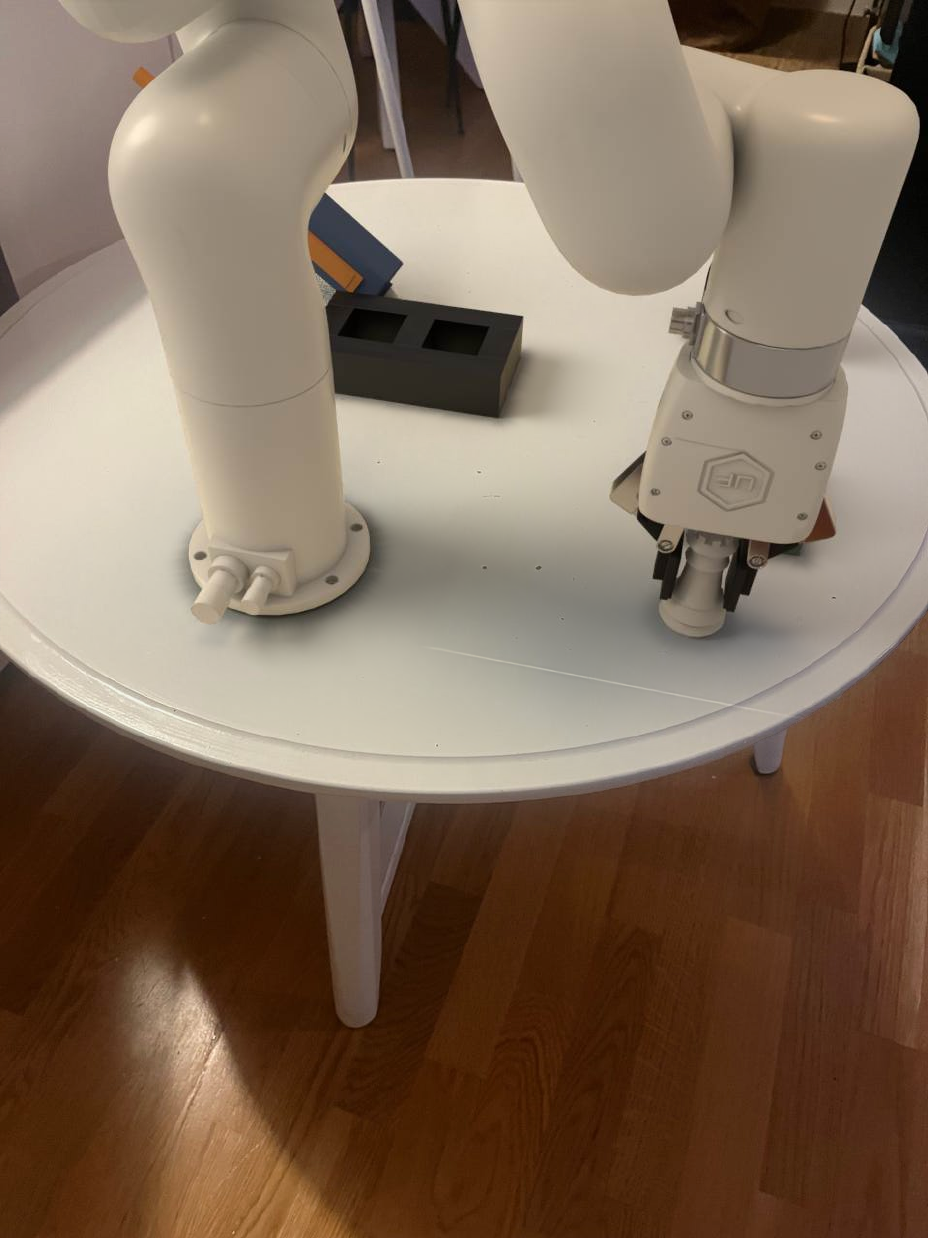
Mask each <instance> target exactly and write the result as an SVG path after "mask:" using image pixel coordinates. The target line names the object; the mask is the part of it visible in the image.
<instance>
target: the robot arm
mask: <svg viewBox="0 0 928 1238" xmlns="http://www.w3.org/2000/svg"><path fill="white" fill-rule="evenodd" d="M456 1H457V4H458V8H459V12H460V15H461V19H462V22H463V26H464V30H465V34H466V36H467V40H468V43H469V47H470V51H471V54H472V57H473V61H474V63H475V67H476V69H477V73H478V76H479V79H480V81H481V84H482V86H483V90H484V92H485V95H486V98H487V101H488V103H489V105H490V109H491V111H492V113H493V116H494V119H495V121H496V124H497V126H498V128H499V130H500V133H501V136H502V138H503V140H504V142H505V145H506V147H507V149H508V151H509V153H510V156H511V158H512V159H513V162H514V164H515V166H516V169H517V170H518V173H519V175H520V177H521V180H522V182H523V184H524V186H525V188H526V190H527V192H528V194H529V196H530V199H531V201H532V202H533V205H534V208H535V209H536V212H537V214H538V216H539V218H540V220H541V222H542V224H543V226H544V229H545V230H546V232H547V234H548V235H549V238H550V239H551V241H552V243H553V244H554V245H555V247H556V249H557V250H558V252H559V253H560V254H561V255H562V256H563V258H564V259H565V261H567V263H568V264H569V265H570V266H571V268H572V269H573V270H575V271H576V272H577V273H578V274H580V276H582V278H584V279H585V280H586V281H588V282H590V283H591V284H593V285H595V286H597V287H598V288H600V289H602V290H605V291H608V292H610V293H612V294H613V293H614V294H616V295H623V296H630V297H641V296H652V295H656V294H660V293H664V292H667V291H669V290H671V289H673V288H676V287H678V286H680V285H682V284H683V283H685V282H686V281H687V280H689V279H690V278H692V277H693V276H694V275H695V274H697V273H698V272H699V271H700V269H702V267H704V265H705V264H707V262H708V261H709V259H711V257H712V260H711V262H712V264H711V263H710V265H711V268H710V273H709V277H708V282H707V286H706V290H705V291H704V290H703V292H704V296H703V295H702V296H703V300H702V299H701V301H702V303H701V301H696V303H695V306H694V307H692V306H687V308H681V307H672V311H671V316H670V321H669V326H668V332H667V333H668V334H669V335H677V336H681V339H685V340H687V341H685V343H684V344H683V345H682V347H681V348H680V350H679V352H678V354H677V356H676V358H675V360H674V362H673V365H672V367H671V369H670V371H669V374H668V378H667V380H666V382H665V385H664V388H663V391H662V393H661V396H660V399H659V403H658V406H657V409H656V412H655V416H654V419H653V423H652V426H651V430H650V434H649V437H648V438H649V439H648V441H647V446H646V449H645V451H643V453H641V454H640V455H639V456H638V457H637V458H636V459H635V460H633V462H632V463H630V465H629V466H627V468H625V469H624V470H623V471H622V472H621V474H619V475H618V476H617V477H616V478H615V479H613V481H612V482H611V487H610V492H609V500H610V501H611V502H612V503H613V504H615V505H616V506H618V507H619V508H621V509H622V510H623V511H625V512H626V513H628V514H629V515H633V516H634V517H636V520H637V523H639V524H640V525H641V527H642V528H644V530H645V531H646V532H647V533H648V534H649V535H650V536H651V537H652V538H653V540H654V541H655V542H656V544H655V547H656V549H657V552H656V556H655V561H654V565H653V570H652V577H651V578H652V580H656V581H661V586H660V592H659V600H668V599H671V597H672V593H673V589H674V585H675V581H676V578H678V573H679V570H680V565H681V562H682V557H683V549H684V548H683V547H684V540H685V534H686V533H685V532H686V531H685V529H687V530H688V529H692V530H698V531H704V532H710V533H716V534H721V535H727V536H733V537H739V538H741V539H740V540H739V539H738V543H739V546H738V548H737V550H736V552H734V553H733V554H732V555H731V559H730V563H729V565H728V567H727V572H726V576H725V579H724V588H723V591H724V602H723V609H726V611H727V613H733V614H734V613H735V612H736V607H737V606H738V602H739V599H740V596H746V597H750V594H751V592H752V589H753V585H754V582H755V580H756V577H757V574H758V571H759V570H761V569H763V568H765V567H766V566H767V565H768V562H769V560H770V559H772V558H773V559H774V558H776V557H777V556H779V555H782V554H783V553H785V552H787V551H789V550H791V549H794V548H795V547H797V546H798V545H799V544H800V543H803V545H807V544H811V543H816V542H819V541H820V542H821V541H824V540H828V539H831V538H834V537H835V536H836V534H837V523H836V514H835V512H834V510H833V507H832V504H831V501H830V498H829V496H828V495H829V494H828V492H827V488H828V485H829V481H830V478H831V475H832V471H833V468H834V464H835V460H836V456H837V452H838V449H839V445H840V440H841V436H842V431H843V427H844V421H845V417H846V411H847V404H848V396H849V395H848V394H849V383H848V380H847V376H846V372H845V369H844V368H843V366H842V365H841V362H842V360H843V357H844V354H845V351H846V348H847V346H848V343H849V339H850V337H851V333H852V331H853V328H854V326H855V323H856V320H857V317H858V314H859V311H860V309H861V306H862V304H863V300H864V297H865V294H866V291H867V288H868V286H869V283H870V279H871V277H872V274H873V271H874V268H875V264H876V262H877V259H878V256H879V254H880V250H881V248H882V245H883V242H884V240H885V238H886V237H885V236H886V233H887V231H888V228H889V226H890V223H891V220H892V217H893V214H894V211H895V208H896V206H897V203H898V199H899V197H900V194H901V191H902V188H903V186H904V183H905V180H906V178H907V174H908V173H909V169H910V166H911V163H912V161H913V157H914V154H915V150H916V147H917V143H918V141H919V135H920V126H921V125H920V116H919V113H918V110H917V106H916V105H915V103H914V102H913V100H911V98H910V97H909V96H908V94H906V93H905V92H904V91H903V90H901V89H900V88H898V87H897V86H894V85H893V84H890V83H888V82H887V81H884V80H882V79H879V78H876V77H873V76H870V75H866V74H862V73H858V72H852V71H847V70H846V71H845V70H838V69H819V68H818V69H804V70H795V71H791V72H789V71H783V70H779V69H774V68H769V67H765V66H762V65H757V64H755V63H749V62H747V61H742V60H738V59H735V58H732V57H728V56H725V55H721V54H718V53H715V52H711V51H708V50H705V49H702V48H701V49H700V48H696V47H693V46H688V45H684V44H681V42H680V39H679V36H678V33H677V29H676V25H675V23H674V19H673V15H672V12H671V8H670V5H669V1H668V0H456ZM57 2H58V3H59V4H60V5H61V6H62V8H63V9H64V10H65V11H66V12H67V13H68V14H69V15H70V16H71V17H72V18H73V19H74V20H75V21H76V22H77V23H78V24H80V25H81V26H82V27H83V28H85V29H87V30H89V31H90V32H92V33H94V34H95V35H97V36H99V37H101V38H102V39H106V40H109V41H112V42H115V43H122V44H143V43H150V42H155V41H157V40H160V39H163V38H165V37H168V36H170V35H172V34H174V33H175V36H176V38H177V41H178V43H179V46H180V48H181V51H182V53H183V54H182V55H181V56H179V58H177V59H176V60H175V61H174V62H173V63H171V64H170V65H169V66H168V67H167V68H166V69H164V70H163V71H162V72H161V73H159V75H157V76H156V77H154V78H155V79H154V80H152V81H151V82H150V83H149V84H148V85H147V86H146V87H145V88H144V89H142V90H141V91H139V93H138V94H137V95H136V96H135V98H134V99H133V100H132V102H131V103H130V104H129V106H128V107H127V109H126V110H125V112H124V113H123V115H122V117H121V119H120V121H119V124H118V126H117V127H116V129H115V131H114V134H113V138H112V141H111V145H110V149H109V155H108V164H107V181H108V191H109V195H110V200H111V205H112V208H113V212H114V214H115V217H116V220H117V223H118V225H119V228H120V230H121V232H122V235H123V237H124V239H125V242H126V244H127V246H128V248H129V250H130V253H131V255H132V257H133V259H134V261H135V264H136V267H137V268H138V271H139V273H140V276H141V278H142V280H143V283H144V285H145V289H146V292H147V294H148V297H149V300H150V303H151V306H152V310H153V313H154V317H155V320H156V324H157V327H158V331H159V335H160V340H161V344H162V348H163V352H164V356H165V359H166V365H167V369H168V372H169V377H170V379H171V381H172V387H173V390H174V394H175V400H176V404H177V408H178V412H179V417H180V421H181V425H182V429H183V434H184V439H185V444H186V447H187V451H188V456H189V460H190V461H189V462H190V466H191V469H192V474H193V478H194V482H195V487H196V491H197V497H198V501H199V504H200V508H201V512H202V516H203V518H202V520H200V522H198V525H197V526H196V528H195V529H194V531H193V533H192V536H191V538H190V541H189V545H188V559H189V565H190V569H191V573H192V574H193V575H192V576H193V577H194V580H195V582H196V583H197V585H198V586H199V588H200V589H201V591H200V592H199V594H198V595H197V597H196V599H195V601H194V602H193V604H192V606H191V608H190V609H191V613H192V615H193V616H194V617H195V618H196V620H198V621H200V622H201V623H204V624H207V625H216V624H217V623H219V622H221V619H222V617H223V615H224V614H225V612H226V610H227V608H229V609H232V610H235V611H238V612H241V613H245V614H247V615H250V616H283V615H291V614H297V613H301V612H304V611H309V610H313V609H316V608H318V607H320V606H324V605H326V604H327V603H330V602H332V601H333V600H335V599H337V598H338V597H340V596H341V595H343V594H344V593H346V592H347V591H348V590H349V589H350V588H352V587H353V585H355V584H356V583H357V582H358V580H359V579H360V577H361V576H362V575H363V573H364V572H365V570H366V567H367V565H368V562H369V561H370V560H369V559H370V555H371V554H370V553H371V540H370V539H371V536H370V532H369V527H368V525H367V524H368V523H367V522H366V521H365V519H364V517H363V516H362V514H361V513H360V511H358V509H356V508H355V506H353V505H352V504H351V503H349V502H348V501H346V500H345V494H344V483H343V474H342V473H343V471H342V462H341V461H342V460H341V450H340V439H339V438H340V437H339V429H338V428H339V427H338V414H337V403H336V393H335V390H334V378H333V367H332V357H331V351H330V340H329V330H328V322H327V315H326V309H325V307H326V305H325V300H324V299H325V298H324V296H323V292H322V289H321V285H320V283H319V279H318V277H317V274H316V273H315V271H314V267H313V264H312V261H311V257H310V253H309V247H308V225H309V219H310V216H311V214H312V212H313V210H314V209H315V207H316V206H317V205H318V203H319V202H320V200H321V198H322V196H323V194H324V193H326V191H327V190H328V189H329V187H330V186H331V184H332V183H333V182H334V180H335V178H336V177H337V175H338V174H339V173H340V172H341V169H342V167H343V166H344V164H345V162H346V161H347V159H348V156H349V155H350V152H351V150H352V149H353V145H354V143H355V140H356V135H357V130H358V121H359V100H358V99H359V98H358V91H357V85H356V78H355V74H354V69H353V65H352V61H351V58H350V57H351V56H350V54H349V50H348V46H347V43H346V40H345V36H344V32H343V28H342V25H341V20H340V18H339V14H338V11H337V7H336V4H335V1H334V0H57ZM801 514H802V515H801Z"/></svg>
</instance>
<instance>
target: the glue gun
mask: <svg viewBox="0 0 928 1238" xmlns="http://www.w3.org/2000/svg"><path fill="white" fill-rule="evenodd" d="M155 78H156V77H154V76H153V75H152V74H151V73H150V72H149V71H148V70H147V69H146V68H145V67H144V66H140V67H138V68H137V69H136V71H135V73H134V74H133V77H132V81H133V82H134V83H136V84H137V85H138V86H139V88H141V89H142V90H143V89H144V88H145V87H146V86H147V85H148V84H149V83H150V82H151V81H152V80H154V79H155ZM308 247H309V253H310V257H311V261H312V264H313V267H314V271H315V274H316V276H318V277H319V278H320V279H322V281H324V282H325V283H326V284H327V285H329V286H330V287H331V288H332V289H333V290H334V291H336V290H339V291H347V292H354V293H361V294H368V295H375V296H383V297H390V298H397V299H401V297H400V296H399V295H398V293H397V292H396V291H395V290H394V289H393V288H392V287H393V285H394V283H392V282H391V281H392V280H393V279H394V277H395V276H396V275H397V274H398V272H399V271H400V269H402V267H403V266H404V262H403V260H401V259H400V258H399V257H398V256H397V255H396V254H395V253H394V252H392V251H391V250H390V249H389V248H388V247H387V246H385V245H384V243H382V242H381V241H380V240H379V238H377V237H376V236H374V235H373V234H372V233H371V232H370V231H369V230H368V229H367V228H366V227H364V225H362V224H361V223H360V222H359V221H358V220H357V219H356V218H354V217H353V216H352V215H351V214H350V213H349V212H348V211H347V210H346V209H344V208H343V207H342V206H341V205H340V204H339V203H338V202H336V201H335V200H334V199H333V198H332V197H331V196H330V195H329V194H328V193H327V192H325V193H324V194H323V196H322V198H321V200H320V202H319V203H318V205H317V206H316V207H315V209H314V210H313V212H312V214H311V216H310V219H309V225H308Z"/></svg>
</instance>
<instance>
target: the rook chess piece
mask: <svg viewBox="0 0 928 1238" xmlns="http://www.w3.org/2000/svg"><path fill="white" fill-rule="evenodd" d="M685 536H686V537H685V538H686V542H687V544H688V545H689V546H688V547H687V548H686V550H685V552H684V556H685V564H684V566H683V569H682V571H681V573H680V575H679V576H677V578H676V581H675V585H674V589H673V593H672V597H671V599H668V600H662V599H660V601H659V603H658V613H659V616H660V617H661V619H662V620H663V622H664V624H665V625H666V626H667V627H668V628H669V629H670V630H672V631H673V632H674V633H676V634H679V635H681V636H684V637H687V638H697V639H698V638H702V637H708V636H710V635H713V634H714V633H716V632H717V631H719V630H721V629H722V628H723V625H724V623H725V621H726V614H727V613H728V611H726V609H723V602H724V588H723V587H722V586H723V576H724V572H725V570H726V569H728V568H729V565H730V562H731V559H730V556H732V555H733V553H734V552H736V550H737V548H738V546H739V543H738V538H737V537H733V536H727V535H721V534H716V533H710V532H704V531H698V530H692V529H689V530H688V529H687V531H686V533H685Z"/></svg>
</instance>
